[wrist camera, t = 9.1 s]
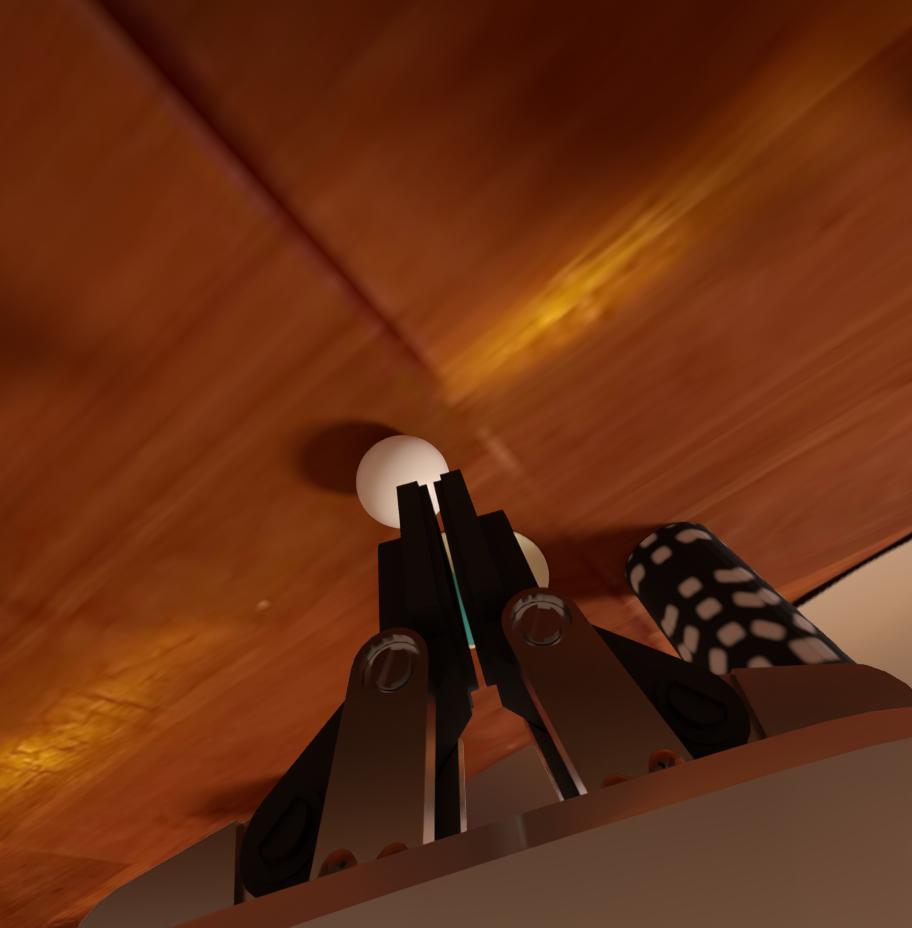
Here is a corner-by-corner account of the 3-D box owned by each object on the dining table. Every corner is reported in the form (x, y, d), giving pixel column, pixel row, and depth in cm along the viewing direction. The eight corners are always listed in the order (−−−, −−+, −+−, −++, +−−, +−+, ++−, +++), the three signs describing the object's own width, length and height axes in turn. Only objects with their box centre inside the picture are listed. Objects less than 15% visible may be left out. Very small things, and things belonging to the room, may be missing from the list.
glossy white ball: (439, 553, 23) (454, 501, 28) (442, 467, 20) (458, 425, 25) (345, 541, 24) (376, 491, 28) (336, 455, 21) (371, 417, 26)
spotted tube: (607, 568, 36) (823, 881, 19) (686, 505, 34) (1013, 793, 16) (653, 605, 39) (867, 893, 22) (727, 551, 37) (1025, 823, 20)
